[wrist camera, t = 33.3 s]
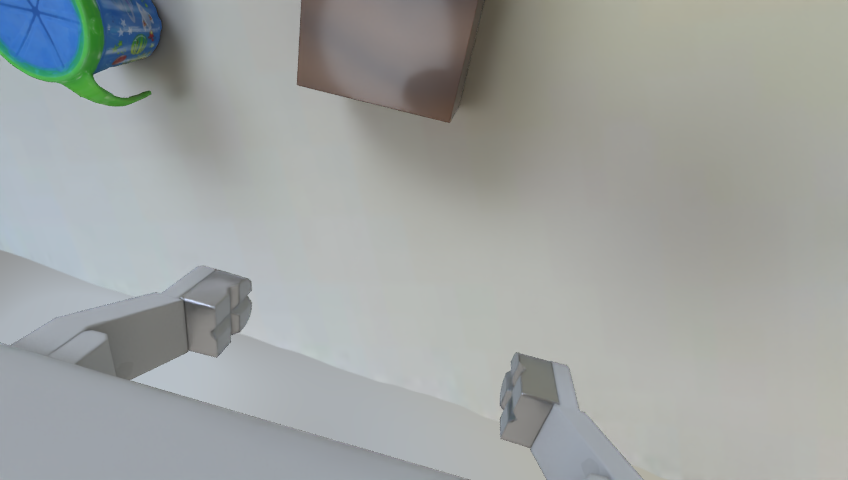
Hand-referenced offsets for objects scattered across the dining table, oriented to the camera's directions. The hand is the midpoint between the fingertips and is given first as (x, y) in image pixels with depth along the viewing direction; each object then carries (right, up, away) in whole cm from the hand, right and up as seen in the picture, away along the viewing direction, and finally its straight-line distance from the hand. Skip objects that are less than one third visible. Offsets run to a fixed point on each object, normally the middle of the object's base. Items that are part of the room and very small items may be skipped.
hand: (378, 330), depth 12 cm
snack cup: (-28, +25, +28) cm, 47 cm away
